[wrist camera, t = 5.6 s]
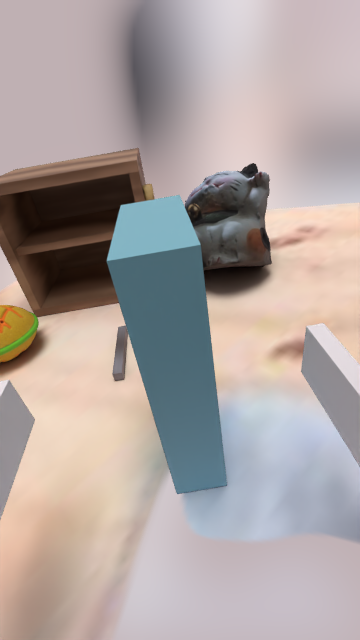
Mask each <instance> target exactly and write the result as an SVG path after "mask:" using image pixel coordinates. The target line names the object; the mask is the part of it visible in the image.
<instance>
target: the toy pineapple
mask: <svg viewBox="0 0 360 640" xmlns="http://www.w3.org/2000/svg"><path fill="white" fill-rule="evenodd" d="M38 323H39V322H38V319H37V317H36V315H35V314H33V313H31V312H28V311H27V310H25V309H23V308H20V307H16V306H11V305H0V362H6V361H9V360H11V359H13V358H15V357H17V356H18V355H19V354H20V353H21V352H22V351H25V350H26V349H27V348H28V347H29V346H30V344H31V343H32V341H33V339H34V337H35V335H36V332H37V328H38Z"/></svg>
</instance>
